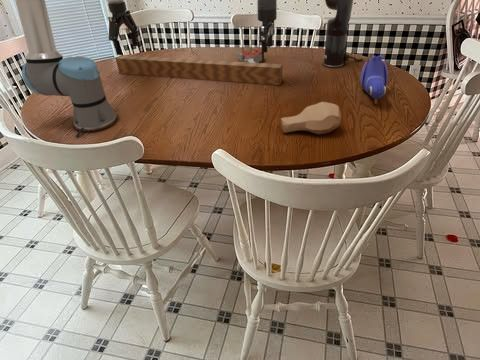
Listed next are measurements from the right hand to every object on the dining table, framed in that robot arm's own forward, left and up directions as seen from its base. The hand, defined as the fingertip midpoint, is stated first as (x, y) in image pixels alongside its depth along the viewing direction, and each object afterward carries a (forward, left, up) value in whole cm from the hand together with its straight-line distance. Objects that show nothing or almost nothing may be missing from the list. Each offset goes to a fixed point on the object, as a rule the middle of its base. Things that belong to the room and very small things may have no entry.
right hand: (267, 49), depth 149 cm
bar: (+23, -26, -14) cm, 38 cm away
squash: (+12, +46, -14) cm, 49 cm away
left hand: (+46, -52, -4) cm, 70 cm away
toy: (-24, +38, -14) cm, 47 cm away
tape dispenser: (-6, -25, -14) cm, 29 cm away
